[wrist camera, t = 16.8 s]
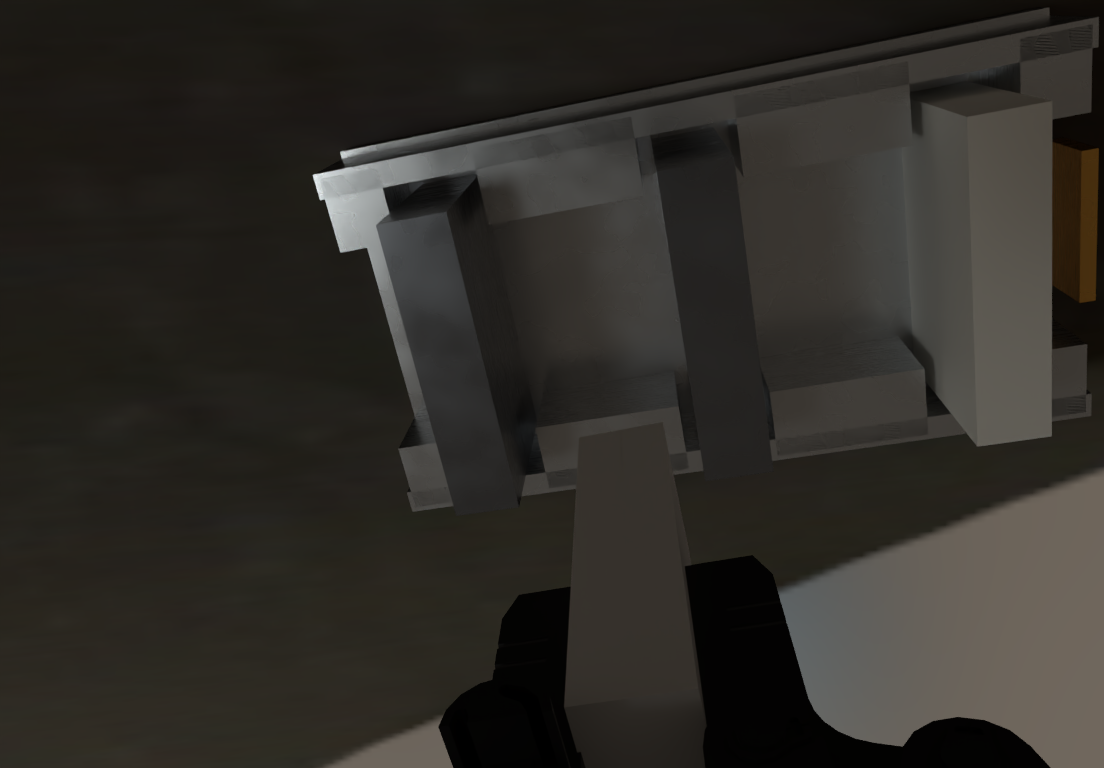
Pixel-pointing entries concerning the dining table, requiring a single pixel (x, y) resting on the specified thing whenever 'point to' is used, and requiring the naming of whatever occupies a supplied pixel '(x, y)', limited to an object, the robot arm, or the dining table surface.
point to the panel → (982, 256)
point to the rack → (690, 262)
